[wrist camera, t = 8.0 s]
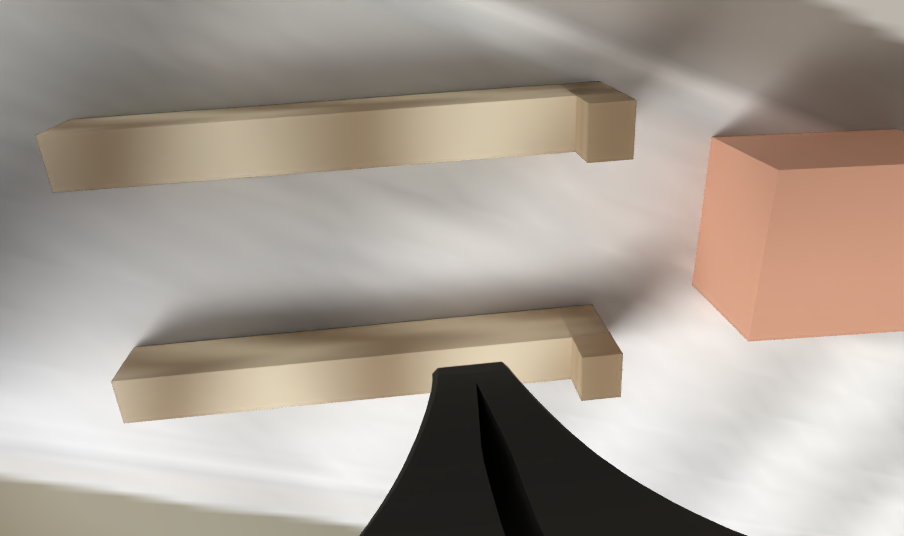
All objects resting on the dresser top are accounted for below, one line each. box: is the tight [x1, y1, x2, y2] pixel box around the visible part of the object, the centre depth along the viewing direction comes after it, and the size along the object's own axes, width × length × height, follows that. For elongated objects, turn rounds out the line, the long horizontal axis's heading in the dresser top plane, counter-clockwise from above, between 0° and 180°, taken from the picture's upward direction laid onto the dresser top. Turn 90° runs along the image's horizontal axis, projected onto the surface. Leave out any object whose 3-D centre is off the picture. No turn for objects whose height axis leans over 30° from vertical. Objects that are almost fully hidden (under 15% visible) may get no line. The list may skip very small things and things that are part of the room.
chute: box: [35, 81, 636, 423], centre depth 20 cm, size 15×9×3 cm, turn 93°
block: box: [692, 129, 904, 341], centre depth 20 cm, size 6×5×4 cm
